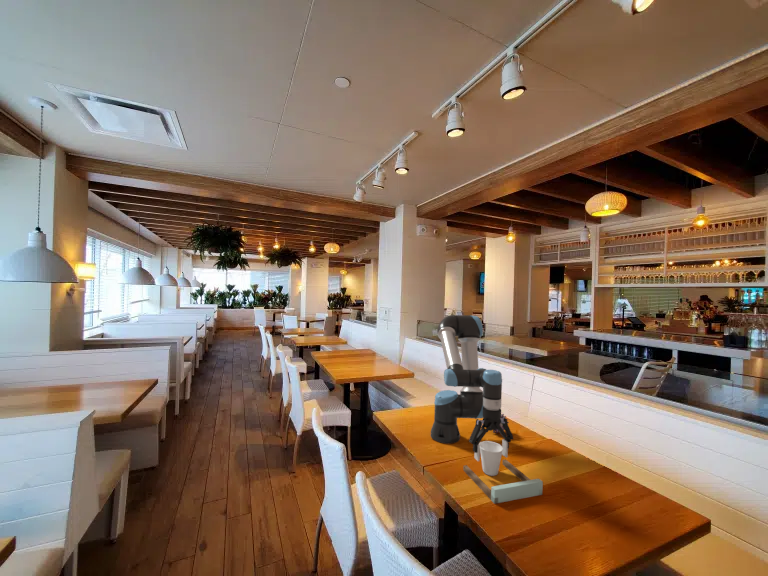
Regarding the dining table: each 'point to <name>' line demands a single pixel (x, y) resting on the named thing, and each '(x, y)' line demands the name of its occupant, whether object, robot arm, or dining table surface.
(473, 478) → the channel
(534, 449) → the dining table surface
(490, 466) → the cup
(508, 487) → the block
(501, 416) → the flower
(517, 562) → the dining table surface
